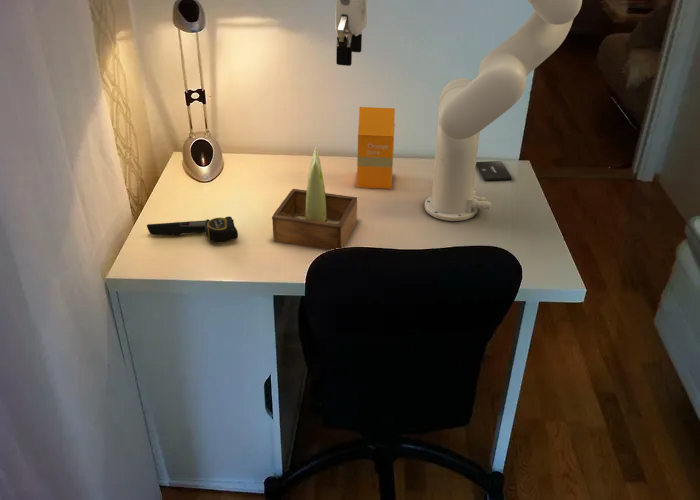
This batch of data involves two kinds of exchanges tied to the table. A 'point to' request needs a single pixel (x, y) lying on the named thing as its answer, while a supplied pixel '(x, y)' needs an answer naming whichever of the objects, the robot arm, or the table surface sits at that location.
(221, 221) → the tape measure
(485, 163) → the solid state drive
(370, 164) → the orange juice
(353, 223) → the wooden box
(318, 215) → the bamboo shoot
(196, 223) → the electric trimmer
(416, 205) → the table surface
